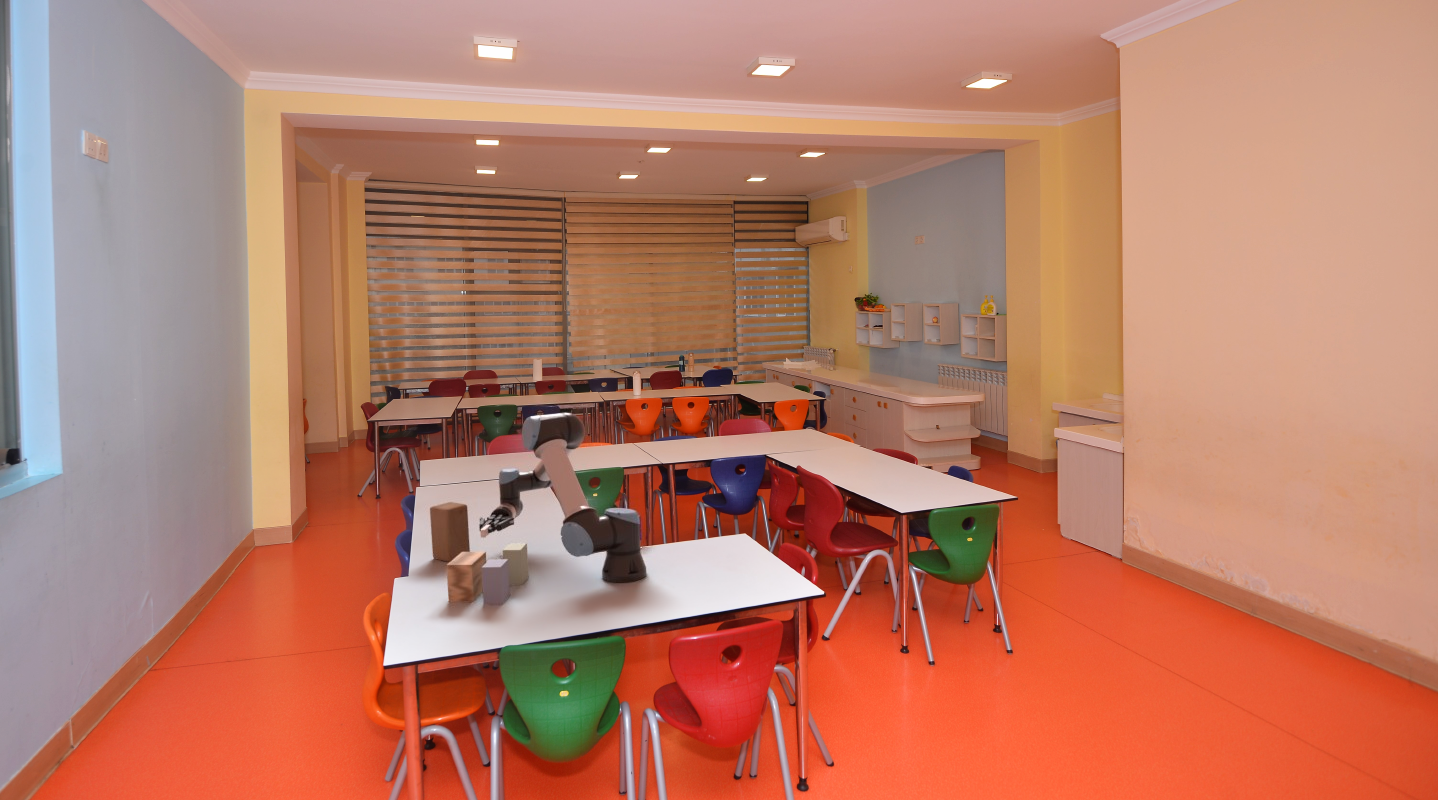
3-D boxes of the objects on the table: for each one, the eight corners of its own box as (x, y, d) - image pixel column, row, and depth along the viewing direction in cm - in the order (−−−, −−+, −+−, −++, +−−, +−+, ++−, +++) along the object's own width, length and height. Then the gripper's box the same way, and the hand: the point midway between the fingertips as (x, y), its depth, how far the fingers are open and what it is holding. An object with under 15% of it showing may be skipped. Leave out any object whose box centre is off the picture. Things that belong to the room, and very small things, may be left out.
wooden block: (471, 555, 296) (468, 503, 294) (449, 563, 288) (446, 509, 286) (453, 552, 301) (450, 501, 299) (431, 559, 293) (428, 506, 291)
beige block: (528, 577, 270) (526, 543, 268) (522, 584, 262) (520, 549, 261) (511, 577, 270) (509, 543, 269) (504, 585, 262) (502, 550, 261)
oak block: (487, 586, 261) (485, 551, 260) (473, 601, 247) (471, 564, 246) (464, 587, 261) (462, 551, 260) (448, 602, 247) (446, 565, 246)
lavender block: (510, 595, 252) (508, 559, 251) (502, 604, 244) (500, 567, 243) (491, 595, 252) (489, 559, 251) (483, 604, 244) (481, 567, 243)
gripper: (520, 525, 294) (501, 544, 271) (486, 525, 294) (464, 544, 271) (519, 506, 293) (500, 523, 270) (485, 506, 293) (463, 523, 270)
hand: (482, 533), depth 270 cm, fingers closed
